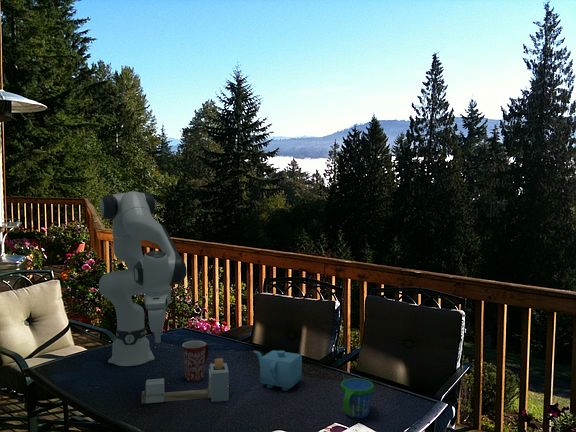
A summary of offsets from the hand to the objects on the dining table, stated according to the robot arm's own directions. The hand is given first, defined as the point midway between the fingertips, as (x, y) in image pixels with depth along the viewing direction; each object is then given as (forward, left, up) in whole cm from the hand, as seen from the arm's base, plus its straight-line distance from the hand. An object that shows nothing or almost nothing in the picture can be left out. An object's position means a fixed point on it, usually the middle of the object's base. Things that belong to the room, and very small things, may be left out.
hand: (159, 338), depth 181 cm
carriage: (0, -2, -22) cm, 22 cm away
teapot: (-7, +41, -22) cm, 47 cm away
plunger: (0, +20, -14) cm, 25 cm away
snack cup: (+24, +63, -22) cm, 71 cm away
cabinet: (0, +20, -22) cm, 30 cm away
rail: (0, +5, -22) cm, 22 cm away
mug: (-20, +13, -22) cm, 33 cm away
